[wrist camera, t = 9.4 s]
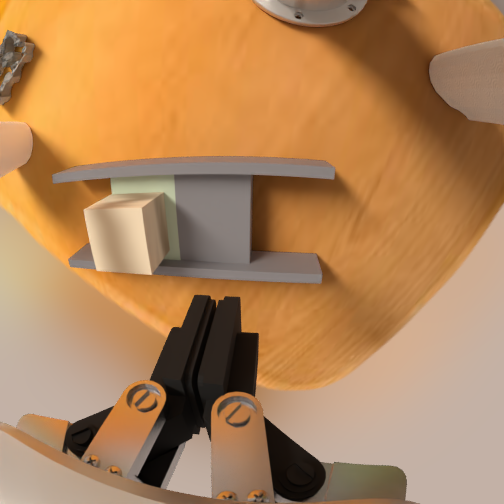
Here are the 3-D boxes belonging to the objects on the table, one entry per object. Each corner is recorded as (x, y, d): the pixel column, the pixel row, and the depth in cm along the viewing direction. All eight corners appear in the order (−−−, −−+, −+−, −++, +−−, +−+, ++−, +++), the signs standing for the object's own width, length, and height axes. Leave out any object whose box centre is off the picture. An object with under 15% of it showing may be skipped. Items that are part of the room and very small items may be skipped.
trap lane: (325, 160, 26) (335, 167, 22) (315, 261, 31) (321, 283, 27) (75, 166, 27) (52, 174, 23) (89, 250, 32) (70, 266, 28)
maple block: (163, 192, 25) (141, 207, 21) (169, 250, 28) (151, 274, 23) (110, 194, 26) (83, 209, 21) (119, 248, 28) (96, 270, 24)
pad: (183, 166, 27) (174, 171, 24) (188, 247, 31) (180, 260, 28) (123, 169, 27) (110, 175, 25) (132, 245, 31) (121, 256, 29)
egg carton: (5, 111, 24) (-14, 114, 20) (-9, 85, 22) (-27, 87, 18) (41, 50, 21) (20, 48, 17) (25, 28, 18) (6, 26, 15)
